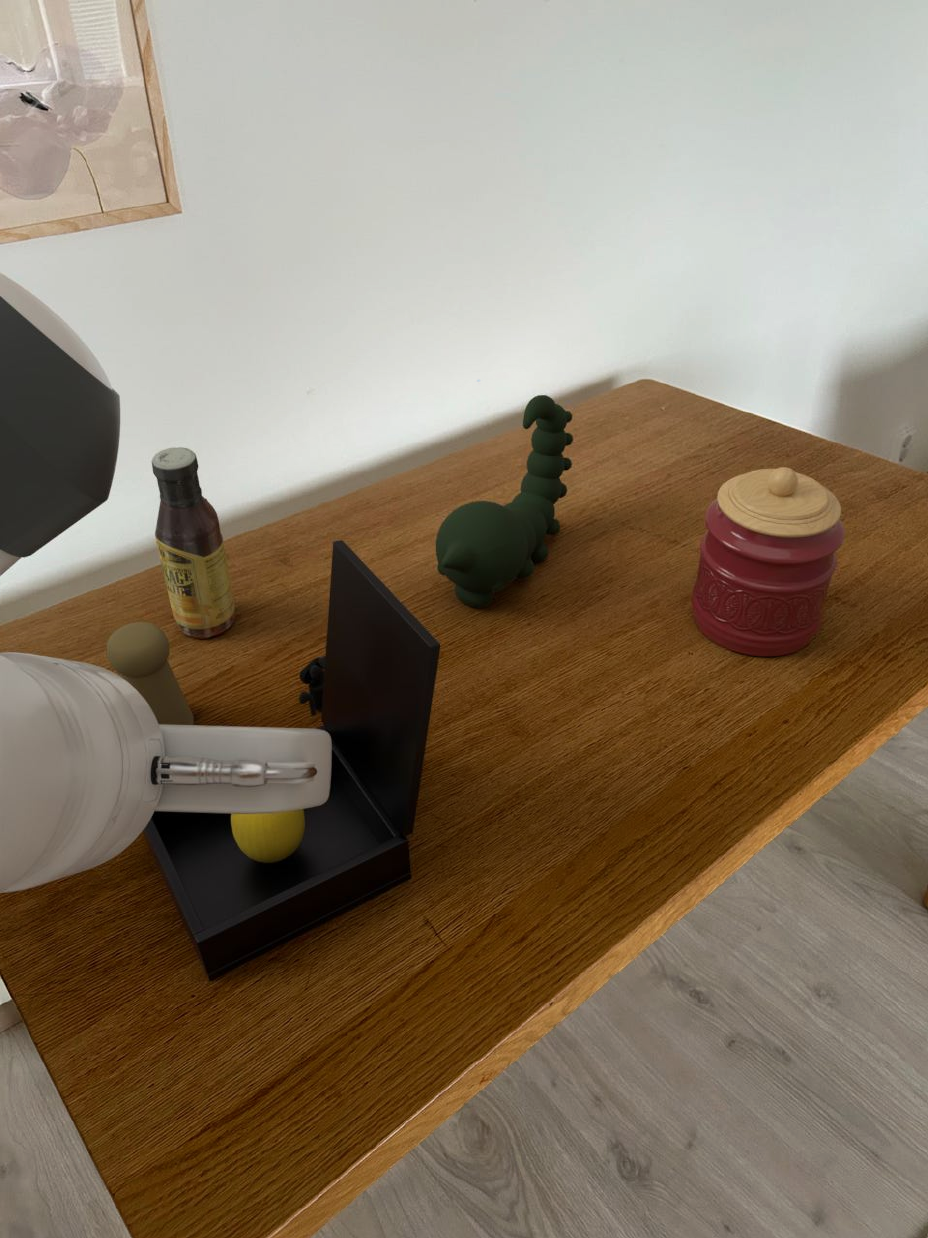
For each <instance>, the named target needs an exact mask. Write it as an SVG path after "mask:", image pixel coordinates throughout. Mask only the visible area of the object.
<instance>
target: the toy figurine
mask: <svg viewBox="0 0 928 1238" xmlns="http://www.w3.org/2000/svg"><path fill="white" fill-rule="evenodd" d="M572 420H573V414H572V412H571V411H569V410H565V409H564V408H563V406H561V405H560V404H558V403H556V402H555V400H554V399H553V398H552V397H551V396H548V395H547V394H538V395H536V396H534V397H532V398H531V399H530V400H529V401H528V403H527V404H526V406H525V408H524V413H523V418H522V427H523V429H525V430H528V429H530V428H531V427H532V425H533V424H535V426H536V427H535V428H534V430H533V432H532V434H531V438H530V441H531V447H532V450H531V451H530V453H529V454H528V456H527V459H526V470H527V472H526V473H525V474H524V475H523V477H522V480H521V483H520V492H519V493H518V494H517V495H515V496H514V498H513V499H512V501H511V502H508V503H506V504H504V505H502V504H499V503H497V502H494V501H487V500H476V501H475V500H474V501H471V502H468V503H467V502H466V503H464V504H462V505H460V506H459V507H457V508H454V509H453V510H452V511H451V512H450V513H449V514H448V515H447V516H446V517H445V519H444V520H443V521H442V523H441V524H440V527H439V528H438V531H437V534H436V538H435V554H436V560H437V567H436V568H437V572H438V573H439V574H440V575H442V576H444V577H446V578H447V579H448V580H449V581H450V582H451V583H453V584H454V585H455V586H454V595H455V597H456V599H457V600H459V601H460V602H461V603H462V604H464V605H466V606H469V607H472V608H476V609H483V608H485V607H488V606H489V605H490V604H491V603H492V602H493V599H494V597H495V593H496V592H500V591H502V590H503V588H505V587H506V586H508V585H509V584H511V583H512V582H513V581H514V580H515V579H516V578H517V579H520V580H526V579H529V578H531V576H532V575H533V573H534V562H536V563H541V562H543V561H545V560H547V557H548V556H549V548H548V546H547V545H545V544H544V542H545V540H546V538H547V536H555V535H557V534H558V533H559V532H560V530H561V524H560V521H559V520H558V519H556V518H555V515H556V514H555V513H556V512H555V504H556V503H557V502H558V500H559V499H563V498H564V497H565V496H566V495H567V493H568V488H567V485H566V484H564V483H563V482H562V480H561V476H563V473H564V472H566V471H569V470H570V469H571V468H572V466H573V462H572V459H570V457H564V454H563V453H564V451H565V449H566V447H567V446H571V445H572V443H573V442H574V436H573V434H571V433H570V432H566V430H565V429H566V427H567V424H568V423H571V421H572Z"/></svg>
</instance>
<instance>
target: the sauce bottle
mask: <svg viewBox="0 0 928 1238" xmlns="http://www.w3.org/2000/svg"><path fill="white" fill-rule="evenodd" d="M198 462H199V461H198V457H197V454H196V453H195V452H194V451H193V450H192V449H190V448H187V447H183V446H182V447H181V446H179V447H168V448H165V449H162V450H160V451H158V452H156V453H155V454H154V456H153V457H152V459H151V467H152V468H151V469H152V474H153V476H154V477H155V478H156V481H157V482H156V483H157V487H158V491H159V508H158V512H157V513H158V514H157V519H156V526H155V532H154V537H155V543H156V545H157V546H156V547H157V550H158V555H159V558H160V564H161V568H162V572H163V577H164V583H165V585H166V590H167V594H168V598H169V602H170V603H169V604H170V607H171V611H172V615H173V618H174V620H175V621H176V624H177V628H178V629H179V631H180V632H181V633H182V634H184V635H186V636H188V637H191V638H195V639H199V640H203V639H204V640H205V639H208V638H213V637H215V636H219V635H221V634H223V633H225V632H226V631H228V630H229V629H230V627H232V626H233V623H234V622H235V620H236V613H235V600H234V595H233V587H232V582H231V577H230V572H229V566H228V560H227V554H226V548H225V547H226V546H225V542H224V537H223V535H222V532H221V527H220V520H219V516H218V513H217V511H216V509H215V508H214V506H213V505H212V504H211V503H210V502H209V501H208V499H207V498H205V497H204V495H203V490H202V487H201V485H200V478H199V475H198V470H199V463H198Z"/></svg>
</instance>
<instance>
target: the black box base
mask: <svg viewBox="0 0 928 1238" xmlns="http://www.w3.org/2000/svg"><path fill="white" fill-rule="evenodd" d="M314 729H320V730H324V731H326V732H328V730H327V729H326V727H325V726H324V725H323V724H322V725H320V726H318V727H317V726H316V727H315V728H314ZM328 733H329V732H328ZM329 735H330V737H331V743H332V766H331V782H330V792H329V797H328V799H327V801H326V802H325V803H324V804H322V805H320V806H316V807H311V808H305V809H303V811H304V816H305V830H304V834H303V838H302V841H301V843H300V844H299V846H298V848H297V849H296V850H295V851H294V852H293V853H292V854H291V855H290V856H288V857H287V858H285V859H283V860H281V861H278V862H273V863H263V862H258V861H255V860H253V859H251V858H249V857H248V856H247V855H246V854H245V853H244V852H242V851H241V849H240V848H239V846H238V844H237V843H236V841H235V839H234V836H233V832H232V826H231V814H228V813H197V812H166V811H154V813H153V815H152V817H151V819H150V820H149V822H148V824H147V825H146V827H145V828H144V830H143V831H142V834H143V836H144V837H143V838H144V839H145V843H146V845H147V847H148V850H149V852H150V854H151V856H152V858H153V860H154V862H155V865H156V867H157V870H158V872H159V873H160V874H159V875H160V876H161V879H162V880H163V882H164V885H165V887H166V889H167V892H168V893H169V895H170V898H171V900H172V902H173V904H174V907H175V909H176V910H177V913H178V915H179V918H180V920H181V922H182V924H183V926H184V929H185V931H186V933H187V936H188V938H189V940H190V942H191V945H192V946H193V948H194V951H195V953H196V956H197V957H198V960H199V962H200V964H201V966H202V968H203V970H204V973H205V975H206V977H207V979H208V981H209V982H211V981H213V980H215V979H217V978H219V977H221V976H223V975H225V974H227V973H229V972H231V971H233V970H236V969H237V968H239V967H241V966H243V965H245V964H247V963H248V962H251V961H252V960H255V959H257V958H258V957H260V956H263V955H265V954H266V953H268V952H270V951H272V950H274V949H276V948H278V947H280V946H282V945H284V944H286V943H288V942H290V941H292V940H293V939H296V938H298V937H300V936H302V935H303V934H306V933H308V932H310V931H311V930H313V929H315V928H318V927H319V926H321V925H323V924H325V923H327V922H329V921H331V920H333V919H336V918H337V917H339V916H340V915H343V914H345V913H347V912H350V911H351V910H352V909H354V908H355V909H356V908H357V907H358V906H360V905H362V904H364V903H366V902H368V901H370V900H372V899H373V898H376V897H379V896H380V895H382V894H384V893H387V892H388V891H390V890H392V889H394V888H395V887H398V886H400V885H402V884H403V883H405V882H407V881H409V880H411V879H412V866H411V853H410V852H411V851H410V841H409V838H408V836H405V837H404V836H403V834H402V833H401V832H400V830H399V829H398V827H397V826H396V825H395V823H394V822H393V820H392V819H391V818H390V816H389V815H388V814H387V812H386V811H385V809H384V808H383V807H382V805H381V804H380V802H379V801H378V800H377V798H376V797H375V795H374V794H373V793H372V791H371V790H370V789H369V787H368V786H367V784H366V783H365V782H364V780H363V779H362V777H361V776H360V775H359V773H358V772H357V770H356V769H355V768H354V766H353V765H352V763H351V762H350V761H349V759H348V758H347V757H346V755H345V754H344V752H343V751H342V750H341V748H340V747H339V745H338V744H337V743H336V741H335V740H334V738H333V737H332V736H331V734H330V733H329Z"/></svg>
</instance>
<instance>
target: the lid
mask: <svg viewBox="0 0 928 1238" xmlns="http://www.w3.org/2000/svg"><path fill="white" fill-rule="evenodd" d="M330 569H331V570H330V581H329V582H330V583H329V597H328V599H329V600H328V612H327V629H326V642H325V655H324V656H325V670H324V684H323V699H322V709H321V715H320V722H321V724H322V725H324V726H325V727H326V729H327V730H328V732H329V733H330V734H331V736H332V737H333V738H334V740H335V741H336V743H337V744H338V745H339V747H340V748H341V750H342V751H343V752H344V754H345V755H346V757H347V758H348V759H349V761H350V762H351V763H352V765H353V766H354V768H355V769H356V770H357V772H358V773H359V775H360V776H361V777H362V779H363V780H364V782H365V783H366V784H367V786H368V787H369V789H370V790H371V791H372V793H373V794H374V795H375V797H376V798H377V800H378V801H379V802H380V804H381V805H382V807H383V808H384V809H385V811H386V812H387V814H388V815H389V816H390V818H391V819H392V820H393V822H394V823H395V825H396V826H397V827H398V829H399V830H400V832H401V833H402V834H403V836H404V837H405V836H406V837H408V836H410V835H413V834H414V829H415V823H416V822H415V821H416V816H417V809H418V803H419V795H420V789H421V782H422V775H423V768H424V761H425V755H426V747H427V741H428V733H429V728H430V722H431V721H430V720H431V713H432V706H433V701H434V693H435V686H436V679H437V672H438V667H439V666H438V665H439V658H440V652H441V646H442V645H441V643H440V642H439V641H438V640H437V639H436V638H435V636H433V634H432V633H430V631H428V629H427V628H426V627H425V626H424V625H423V624H422V623H421V622H420V621H419V619H418V618H416V616H415V615H414V614H413V613H412V612H411V611H410V610H409V609H408V608H407V607H406V605H404V604H403V603H402V602H401V600H399V598H398V597H397V596H396V595H395V594H394V593H393V591H391V589H389V587H388V586H387V585H386V584H385V583H384V582H382V580H381V579H380V578H379V577H378V576H377V575H376V574H375V572H373V571H372V570H371V569H370V568H369V566H367V564H366V563H365V562H364V561H363V559H361V558H360V557H359V556H358V555H357V553H355V551H353V550H352V549H351V547H350V546H349V545H348V544H347V543H346V542H345V541H344V540H343V539H340V540H339V539H338V540H334V541H332V555H331V568H330Z"/></svg>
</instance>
